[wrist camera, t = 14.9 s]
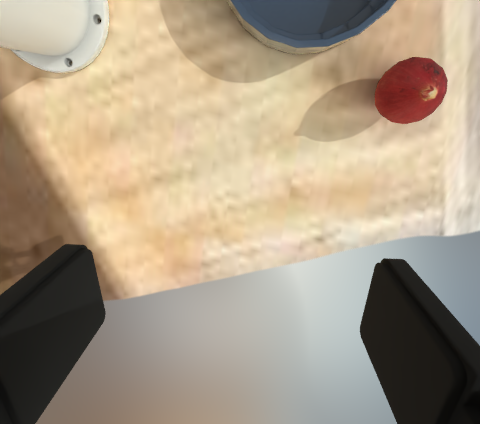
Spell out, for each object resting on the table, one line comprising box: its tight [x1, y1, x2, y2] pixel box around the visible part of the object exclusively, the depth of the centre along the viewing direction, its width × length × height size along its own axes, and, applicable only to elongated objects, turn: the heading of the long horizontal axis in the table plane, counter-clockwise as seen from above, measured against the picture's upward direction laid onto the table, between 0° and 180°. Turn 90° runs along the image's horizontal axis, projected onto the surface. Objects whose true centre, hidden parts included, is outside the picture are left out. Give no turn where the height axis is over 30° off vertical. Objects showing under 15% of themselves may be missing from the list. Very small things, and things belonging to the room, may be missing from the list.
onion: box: [375, 57, 447, 124], centre depth 27 cm, size 6×6×8 cm
